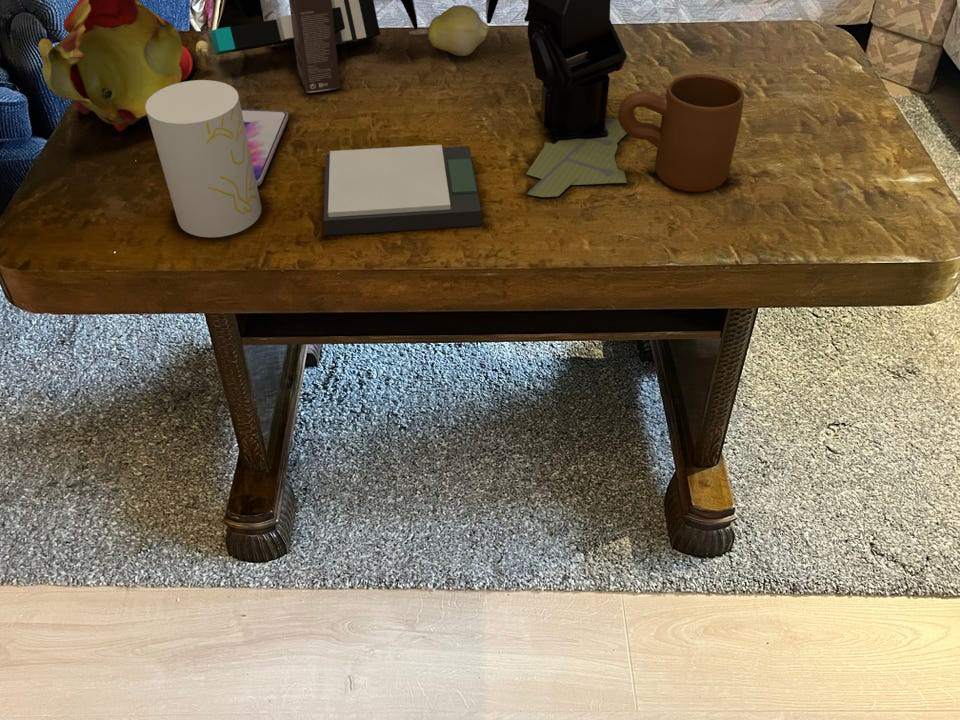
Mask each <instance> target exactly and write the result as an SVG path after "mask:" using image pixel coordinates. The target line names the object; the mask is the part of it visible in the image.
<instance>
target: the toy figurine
mask: <svg viewBox="0 0 960 720" xmlns="http://www.w3.org/2000/svg"><path fill="white" fill-rule="evenodd" d="M182 46H183V52H182V55H181V59H180V63H179V66H180V67H181V71H182V77H181V81H180V82H184V80H186V79H187V78H189V76H190V75H191V73H192V70H194V69H195V68H196V67H197V66H198V64H199V58H197V57H196V56H198V57H200V56H201V57H207V58H208V57H210V52H209V50H210V46H209V43H208V42H207V41H205V40H199V41H197V43H196V45H195V53H196V56H195V55H194V54H193V53H192V52H191V50H189V48H187V47H186V46H184V45H182Z"/></svg>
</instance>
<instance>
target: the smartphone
mask: <svg viewBox="0 0 960 720" xmlns="http://www.w3.org/2000/svg"><path fill="white" fill-rule="evenodd" d="M241 110H242V115H243V120H244V125H245V130H246V135H247V140H248V144H249V149H250V154H251V159H252V164H253V169H254V174H255V179H256V183H257V187H259V186H261V185H262V183H263V181H264V179H265V176H266V174H267V171H268V169H269V167H270V164H271V162H272V159H273V157H274V154H275V152H276V151H277V147H278V144H279V143H280V140H281V137H282V135H283V133H284V130H285V128H286V126H287V123H288V120H289V114H288V112H286V111H284V110H267V109H242V108H241Z"/></svg>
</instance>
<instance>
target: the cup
mask: <svg viewBox="0 0 960 720" xmlns="http://www.w3.org/2000/svg"><path fill="white" fill-rule="evenodd" d="M145 108H146V112H147V119H148V123H149V127H150V129H151V132H152V136H153V140H154V144H155V147H156V150H157V154H158V158H159V161H160V165H161V169H162V171H163V175H164V178H165V182H166V185H167V189H168V193H169V195H170V199H171V202H172V206H173V209H174V213H175V216H176V220H177V223H178V225H179V227H180V228H181V229H182V230H183V231H184V232H185V233H188V234H190V235H192V236H196V237H201V238H222V237H228V236H231V235H234V234H237V233H240V232H242V231H244V230H246V229H248V228H250V227H251V226H252V225H254V224H255V223H256V222H257V221H258V219H259V218H260V216H261V214H262V204H261V203H262V202H261V199H260V193H259V188H258V186H257V183H256V179H255V174H254V169H253V164H252V159H251V154H250V149H249V144H248V140H247V135H246V130H245V125H244V120H243V115H242V110H241V109H242V107H241V100H240V96H239V93H238V90H237V89H236V88H235V87H233V86H232V85H230V84H229V83H228V84H227V83H225V82H222V81H218V80H210V79H197V80H195V79H193V80H188V81H186V80H185V81H180V83H177V84H173V85H170V86H168V87H165V88H163V89H161V90H159V91H157V92H156V93H154V94H153V95H152V96H151V97H150V98H149V99H148V100H147V102H146V105H145Z"/></svg>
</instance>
